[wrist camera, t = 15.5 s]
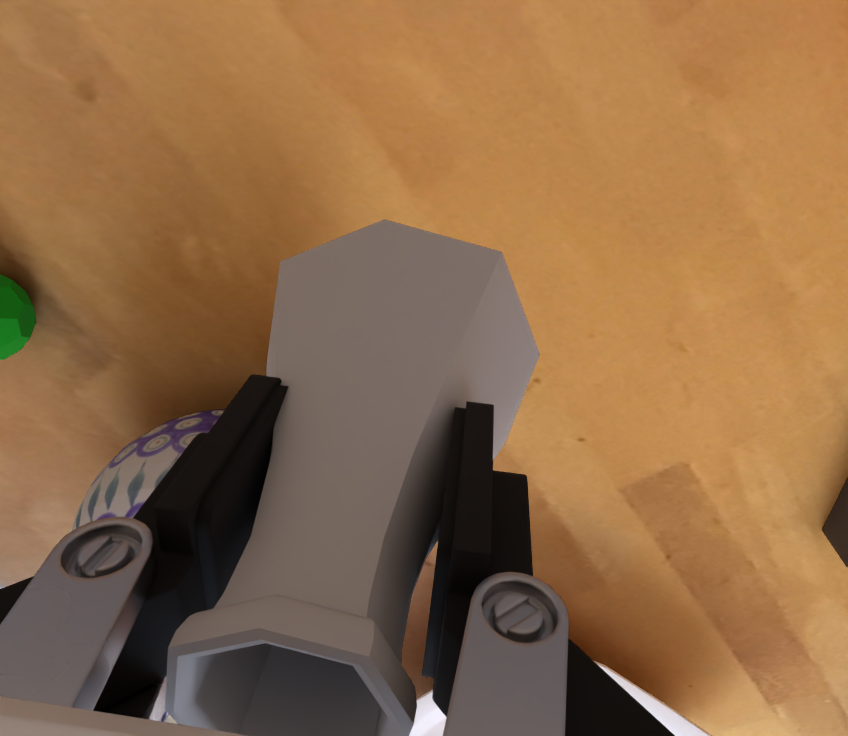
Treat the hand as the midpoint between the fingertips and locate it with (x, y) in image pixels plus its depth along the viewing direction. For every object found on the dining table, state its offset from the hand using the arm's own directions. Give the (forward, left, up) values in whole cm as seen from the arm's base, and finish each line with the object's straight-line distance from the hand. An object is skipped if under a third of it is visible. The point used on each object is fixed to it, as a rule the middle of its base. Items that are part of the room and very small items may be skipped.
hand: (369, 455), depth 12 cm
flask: (0, 0, -5) cm, 5 cm away
